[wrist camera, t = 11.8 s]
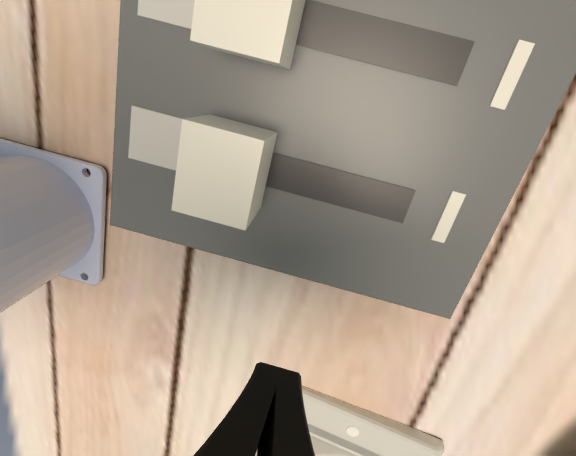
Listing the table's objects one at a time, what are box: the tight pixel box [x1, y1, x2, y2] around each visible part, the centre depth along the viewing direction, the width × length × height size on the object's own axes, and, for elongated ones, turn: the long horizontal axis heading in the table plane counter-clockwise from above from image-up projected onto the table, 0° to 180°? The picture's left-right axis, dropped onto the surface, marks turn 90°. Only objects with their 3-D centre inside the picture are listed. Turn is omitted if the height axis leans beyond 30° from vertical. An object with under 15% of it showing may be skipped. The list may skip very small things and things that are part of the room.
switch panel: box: [110, 0, 576, 319], centre depth 15 cm, size 18×22×3 cm
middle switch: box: [190, 0, 305, 69], centre depth 12 cm, size 3×4×3 cm
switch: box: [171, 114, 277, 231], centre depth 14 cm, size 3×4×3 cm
